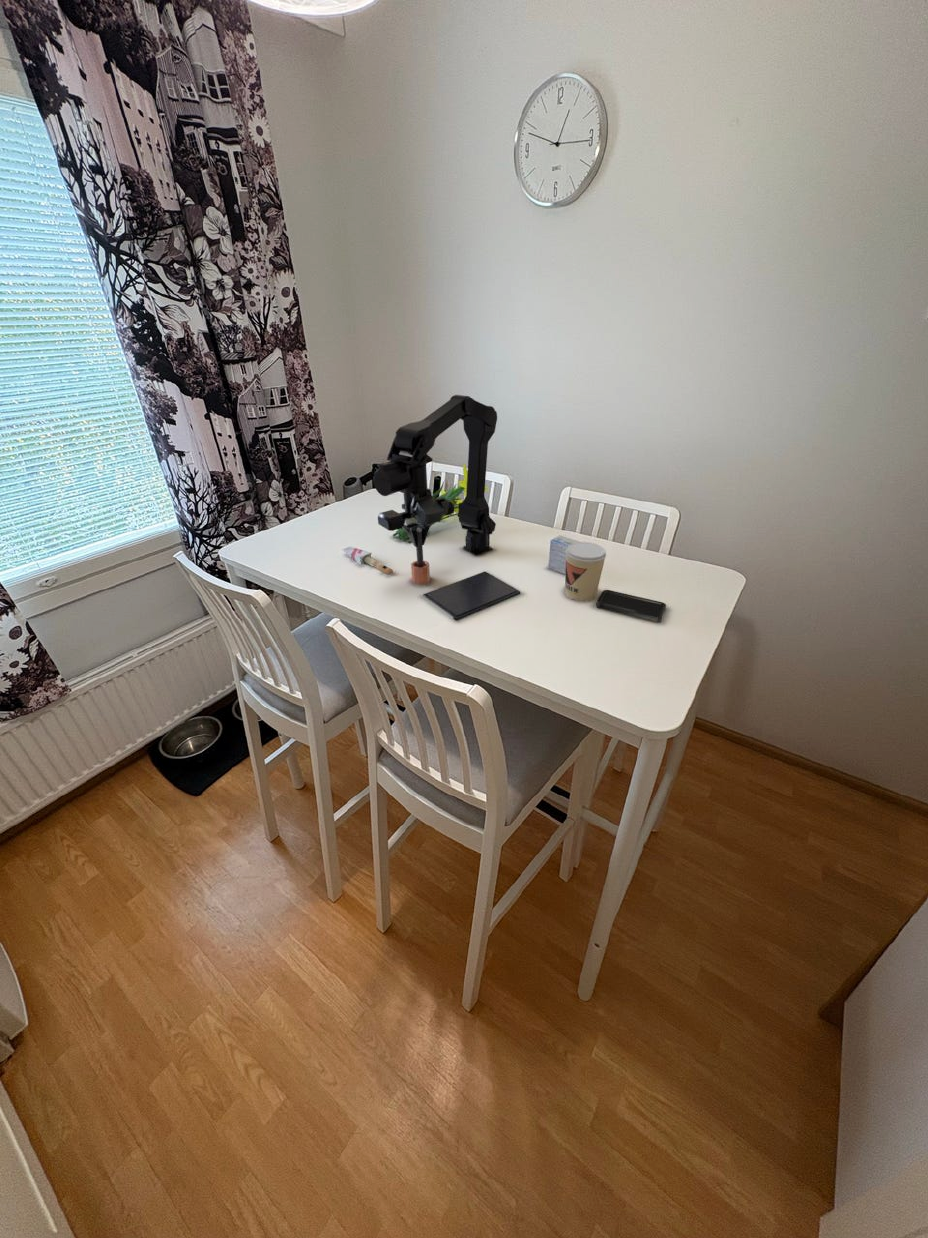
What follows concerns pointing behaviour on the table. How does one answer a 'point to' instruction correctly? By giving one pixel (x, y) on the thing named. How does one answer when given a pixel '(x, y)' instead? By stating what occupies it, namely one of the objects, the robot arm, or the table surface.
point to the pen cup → (420, 573)
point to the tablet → (471, 595)
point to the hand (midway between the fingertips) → (419, 545)
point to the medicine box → (559, 553)
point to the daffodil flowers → (449, 496)
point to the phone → (631, 605)
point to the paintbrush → (366, 559)
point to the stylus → (419, 548)
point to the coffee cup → (583, 570)
